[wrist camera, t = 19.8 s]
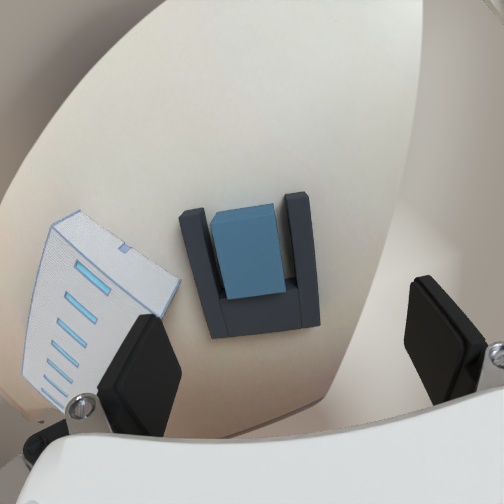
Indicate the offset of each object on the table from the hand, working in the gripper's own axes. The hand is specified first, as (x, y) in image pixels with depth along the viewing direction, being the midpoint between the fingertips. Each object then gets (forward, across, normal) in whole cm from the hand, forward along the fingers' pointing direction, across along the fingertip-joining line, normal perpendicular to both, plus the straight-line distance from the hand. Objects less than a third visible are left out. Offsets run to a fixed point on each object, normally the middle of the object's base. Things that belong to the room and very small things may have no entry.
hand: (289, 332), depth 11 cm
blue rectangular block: (+20, +3, +4) cm, 21 cm away
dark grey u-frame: (+20, +3, +6) cm, 21 cm away
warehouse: (+20, +27, +12) cm, 36 cm away
